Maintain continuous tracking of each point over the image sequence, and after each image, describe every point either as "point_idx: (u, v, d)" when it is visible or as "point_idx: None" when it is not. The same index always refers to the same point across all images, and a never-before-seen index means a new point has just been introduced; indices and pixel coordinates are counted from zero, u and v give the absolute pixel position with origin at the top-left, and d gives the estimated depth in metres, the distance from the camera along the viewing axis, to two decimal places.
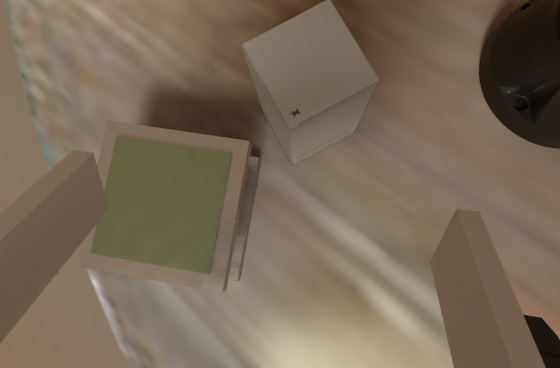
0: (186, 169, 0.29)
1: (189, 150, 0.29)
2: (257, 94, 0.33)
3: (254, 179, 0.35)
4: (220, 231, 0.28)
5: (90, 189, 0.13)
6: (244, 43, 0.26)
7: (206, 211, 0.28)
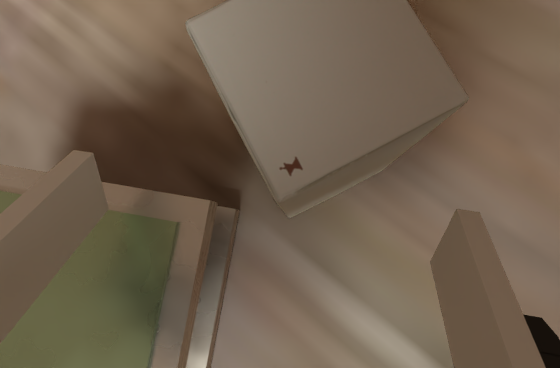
0: (95, 252, 0.16)
1: None
2: None
3: (228, 244, 0.23)
4: None
5: (90, 189, 0.13)
6: (190, 20, 0.13)
7: (128, 332, 0.15)
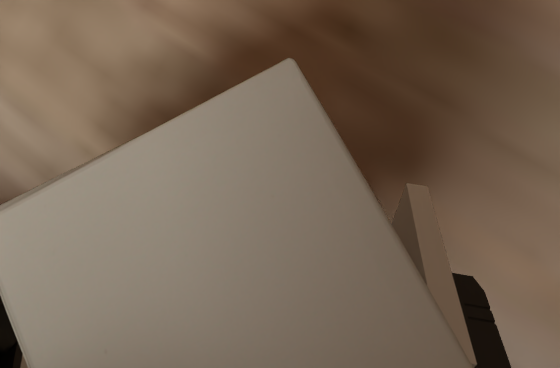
0: None
1: None
2: None
3: None
4: None
5: None
6: None
7: None
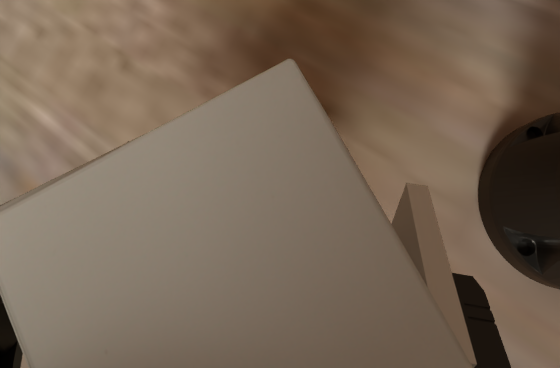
0: None
1: None
2: None
3: None
4: None
5: None
6: None
7: None
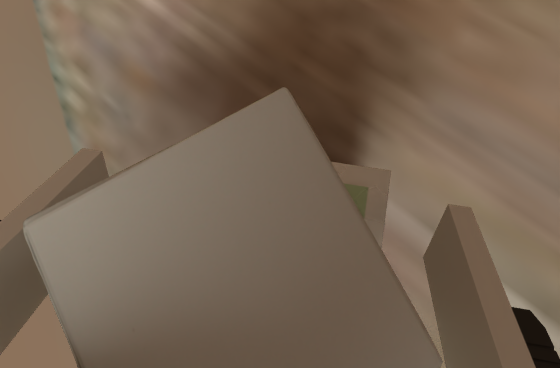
0: None
1: None
2: None
3: None
4: None
5: None
6: (29, 222, 0.09)
7: None
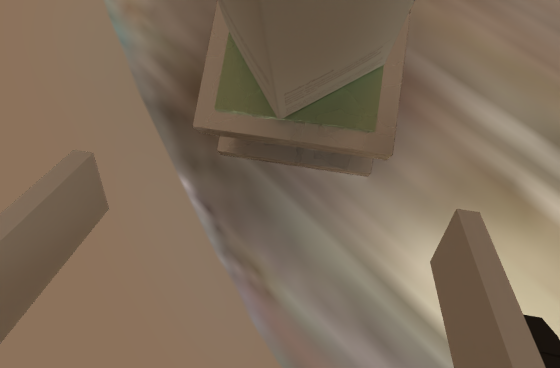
0: None
1: None
2: None
3: None
4: (385, 79, 0.22)
5: (90, 189, 0.13)
6: None
7: None
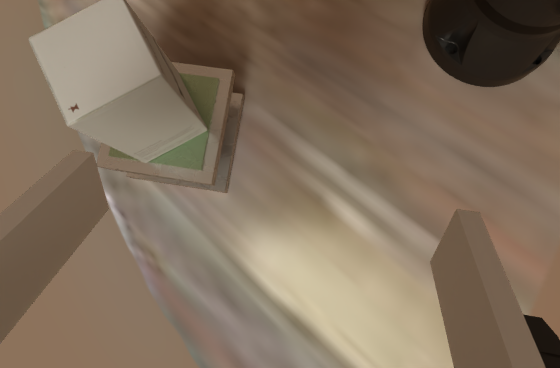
0: None
1: (185, 77, 0.37)
2: None
3: (238, 111, 0.44)
4: (209, 138, 0.37)
5: (90, 189, 0.13)
6: (31, 37, 0.25)
7: None
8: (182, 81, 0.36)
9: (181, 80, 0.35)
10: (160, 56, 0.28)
